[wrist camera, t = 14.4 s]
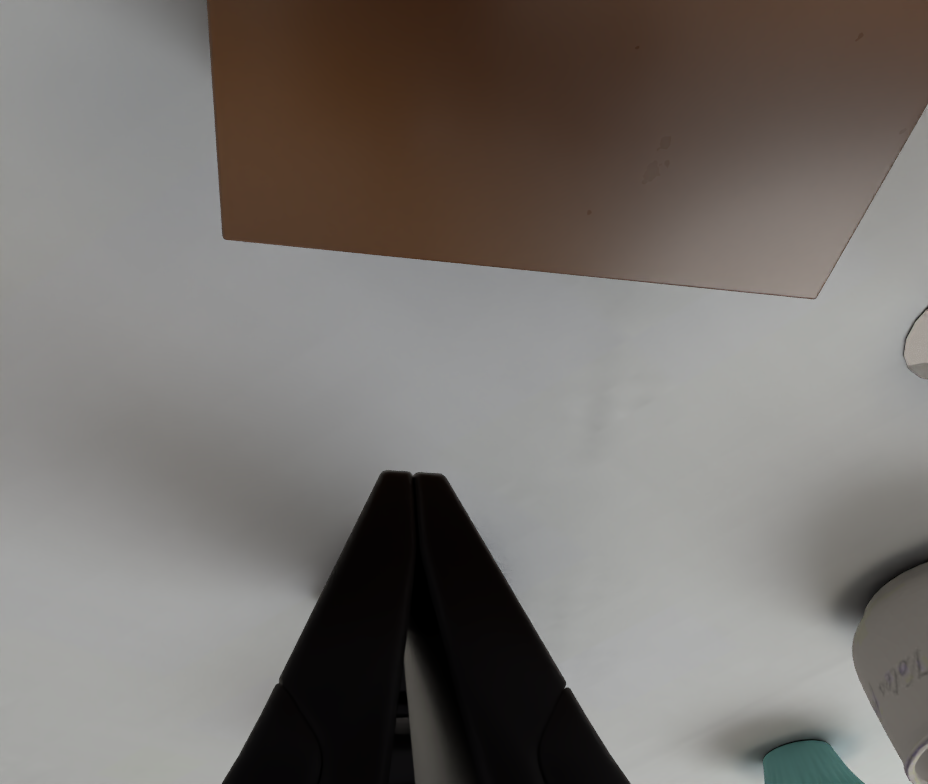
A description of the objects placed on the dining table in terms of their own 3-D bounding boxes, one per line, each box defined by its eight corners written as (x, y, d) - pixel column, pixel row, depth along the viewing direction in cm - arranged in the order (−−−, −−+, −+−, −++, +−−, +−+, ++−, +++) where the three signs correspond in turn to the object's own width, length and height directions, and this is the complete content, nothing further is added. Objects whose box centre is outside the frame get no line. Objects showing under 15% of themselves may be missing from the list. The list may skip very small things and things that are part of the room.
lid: (185, -487, 8) (171, -503, 8) (1099, -255, 10) (1135, -255, 10) (228, 223, 14) (222, 240, 14) (803, 283, 16) (816, 301, 16)
